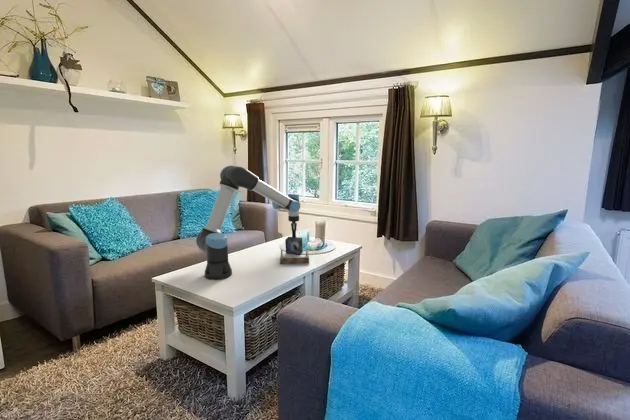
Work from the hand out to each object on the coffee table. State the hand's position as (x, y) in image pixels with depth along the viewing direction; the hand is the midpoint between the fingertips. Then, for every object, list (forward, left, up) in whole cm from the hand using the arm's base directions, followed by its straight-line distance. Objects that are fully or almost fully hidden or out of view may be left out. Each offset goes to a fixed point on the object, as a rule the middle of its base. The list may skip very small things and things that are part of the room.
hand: (294, 247), depth 242 cm
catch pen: (0, -20, -2) cm, 20 cm away
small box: (0, -7, -2) cm, 7 cm away
